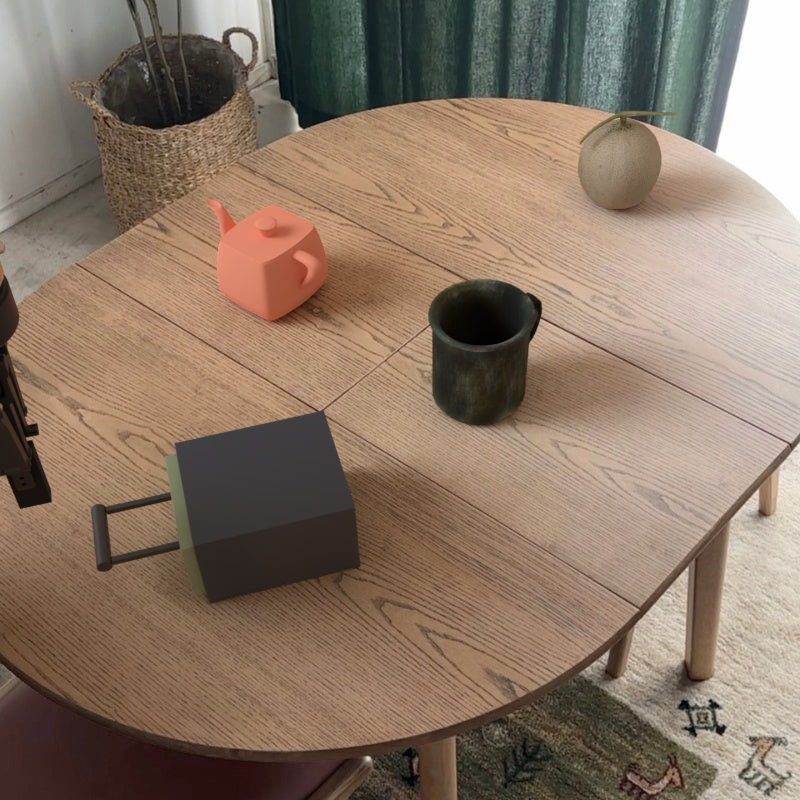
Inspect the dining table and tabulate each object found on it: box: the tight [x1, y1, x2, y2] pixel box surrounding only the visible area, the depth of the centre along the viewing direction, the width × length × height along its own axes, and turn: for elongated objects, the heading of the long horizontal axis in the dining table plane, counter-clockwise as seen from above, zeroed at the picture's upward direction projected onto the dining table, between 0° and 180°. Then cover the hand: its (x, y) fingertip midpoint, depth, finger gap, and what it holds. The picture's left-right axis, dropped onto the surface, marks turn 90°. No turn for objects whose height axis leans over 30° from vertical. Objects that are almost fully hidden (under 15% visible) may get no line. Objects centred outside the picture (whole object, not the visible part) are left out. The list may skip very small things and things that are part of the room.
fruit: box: [577, 110, 678, 210], centre depth 136 cm, size 10×12×15 cm
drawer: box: [90, 453, 206, 597], centre depth 100 cm, size 21×11×7 cm, turn 106°
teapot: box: [205, 198, 329, 321], centre depth 127 cm, size 12×18×10 cm, turn 51°
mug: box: [427, 278, 543, 426], centre depth 114 cm, size 11×15×12 cm
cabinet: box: [174, 410, 361, 604], centre depth 101 cm, size 15×13×9 cm
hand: (35, 499), depth 92 cm, fingers closed
